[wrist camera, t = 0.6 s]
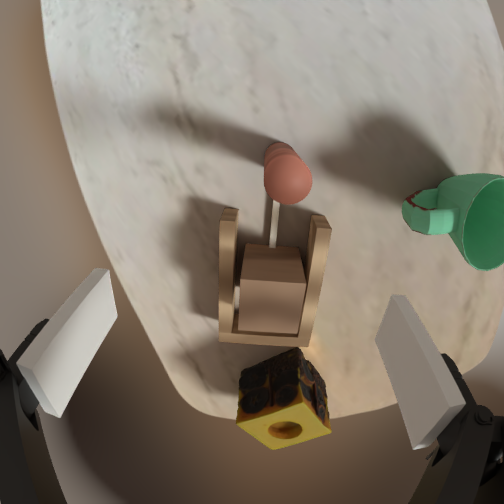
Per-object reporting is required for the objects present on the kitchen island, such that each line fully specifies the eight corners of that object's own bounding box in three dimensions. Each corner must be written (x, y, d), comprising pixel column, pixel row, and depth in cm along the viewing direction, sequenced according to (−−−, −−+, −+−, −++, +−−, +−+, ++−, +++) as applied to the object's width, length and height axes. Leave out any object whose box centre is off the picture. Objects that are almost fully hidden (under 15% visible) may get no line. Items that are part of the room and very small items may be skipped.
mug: (480, 160, 28) (532, 180, 19) (472, 232, 33) (515, 267, 24) (382, 153, 30) (424, 170, 21) (378, 236, 34) (411, 279, 25)
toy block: (298, 344, 41) (303, 400, 32) (327, 381, 45) (335, 432, 36) (238, 369, 44) (232, 423, 35) (272, 402, 47) (272, 451, 38)
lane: (224, 208, 33) (219, 220, 30) (324, 215, 33) (331, 229, 29) (222, 321, 40) (218, 341, 36) (305, 326, 40) (308, 347, 36)
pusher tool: (251, 140, 30) (243, 154, 19) (310, 145, 30) (335, 162, 19) (243, 288, 37) (234, 357, 27) (292, 291, 37) (300, 361, 26)
